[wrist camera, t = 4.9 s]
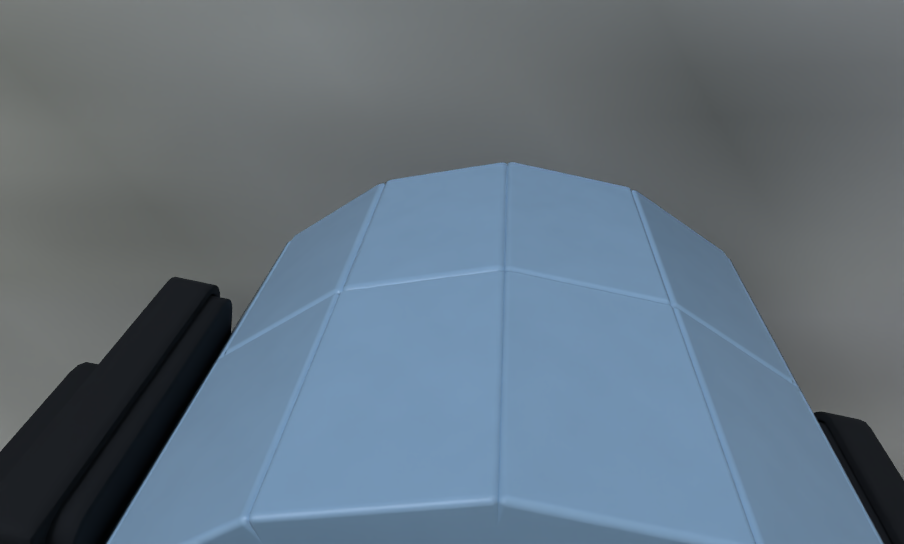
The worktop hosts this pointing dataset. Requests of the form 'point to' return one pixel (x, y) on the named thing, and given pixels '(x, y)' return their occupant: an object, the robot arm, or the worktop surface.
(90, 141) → the worktop surface
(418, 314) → the bowl
